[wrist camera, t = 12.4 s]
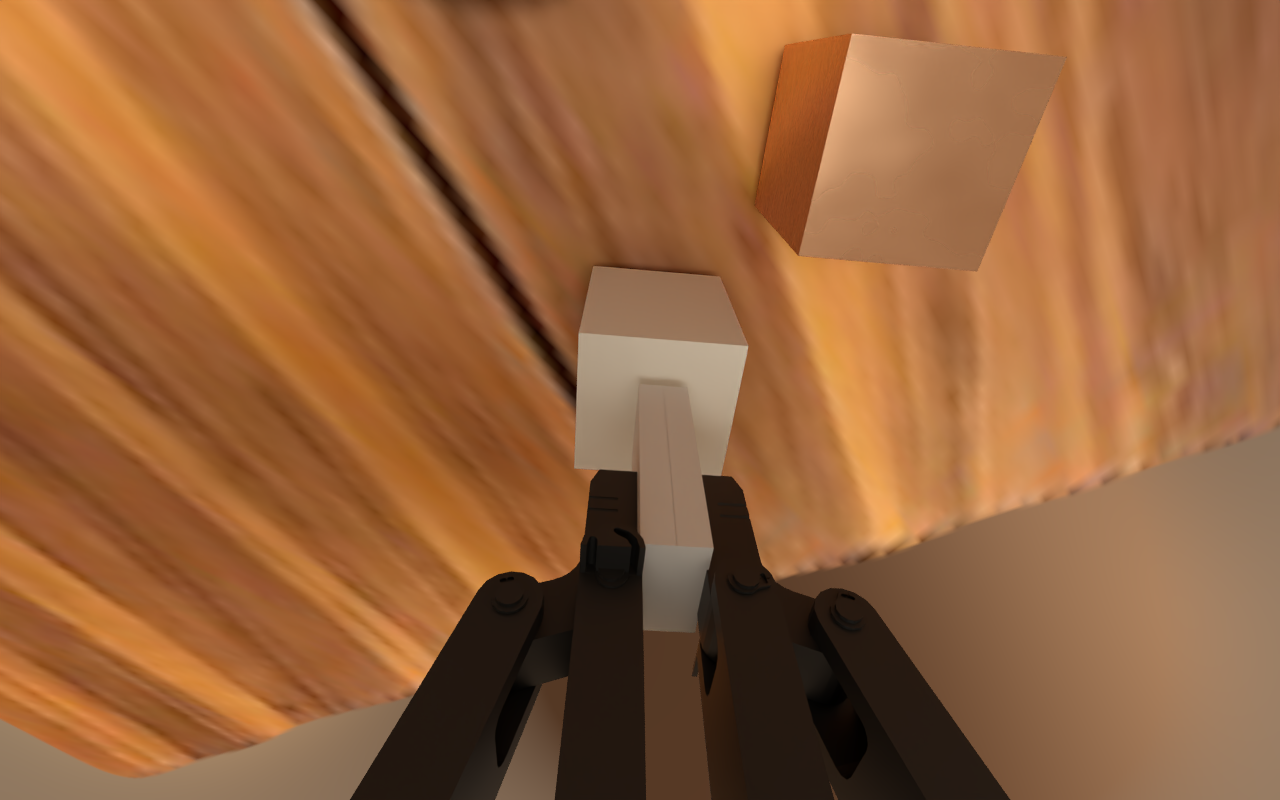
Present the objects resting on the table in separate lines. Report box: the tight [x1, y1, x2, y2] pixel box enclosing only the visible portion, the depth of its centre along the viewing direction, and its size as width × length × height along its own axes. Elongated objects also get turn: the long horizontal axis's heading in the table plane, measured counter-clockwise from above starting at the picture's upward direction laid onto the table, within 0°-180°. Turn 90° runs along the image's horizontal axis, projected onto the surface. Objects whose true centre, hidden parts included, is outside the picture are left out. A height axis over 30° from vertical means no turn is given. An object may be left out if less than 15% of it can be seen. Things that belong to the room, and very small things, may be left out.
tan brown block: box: [755, 34, 1067, 271], centre depth 17 cm, size 5×5×8 cm
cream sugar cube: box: [574, 266, 748, 476], centre depth 21 cm, size 5×5×7 cm
